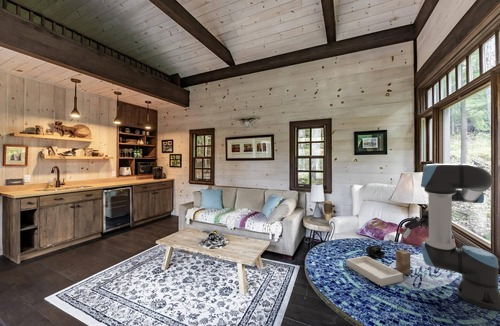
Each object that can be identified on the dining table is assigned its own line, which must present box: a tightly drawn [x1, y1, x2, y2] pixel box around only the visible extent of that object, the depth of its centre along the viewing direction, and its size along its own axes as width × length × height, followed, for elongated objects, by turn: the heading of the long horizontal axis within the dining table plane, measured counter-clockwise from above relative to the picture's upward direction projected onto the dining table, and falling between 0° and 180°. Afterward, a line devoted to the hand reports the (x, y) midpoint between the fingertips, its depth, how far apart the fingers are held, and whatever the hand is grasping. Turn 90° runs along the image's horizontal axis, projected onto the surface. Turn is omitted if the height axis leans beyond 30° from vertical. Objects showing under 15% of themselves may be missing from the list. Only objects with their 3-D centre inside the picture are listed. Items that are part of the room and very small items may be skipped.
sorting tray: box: [345, 255, 404, 287], centre depth 124 cm, size 24×16×4 cm, turn 19°
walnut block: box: [395, 249, 412, 276], centre depth 125 cm, size 5×5×12 cm
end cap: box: [365, 244, 386, 260], centre depth 148 cm, size 10×7×7 cm
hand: (415, 241), depth 129 cm, fingers open, 13 cm apart
